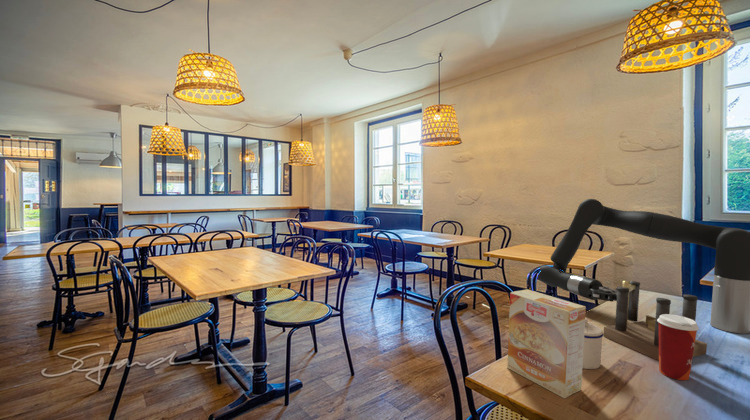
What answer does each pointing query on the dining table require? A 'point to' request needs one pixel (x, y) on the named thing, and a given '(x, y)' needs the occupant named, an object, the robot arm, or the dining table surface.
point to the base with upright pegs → (648, 325)
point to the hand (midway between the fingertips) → (632, 301)
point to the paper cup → (676, 345)
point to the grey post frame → (632, 299)
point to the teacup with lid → (592, 346)
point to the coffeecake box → (546, 341)
